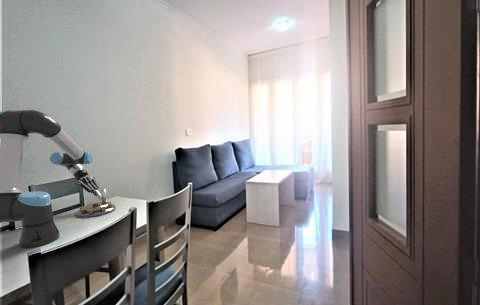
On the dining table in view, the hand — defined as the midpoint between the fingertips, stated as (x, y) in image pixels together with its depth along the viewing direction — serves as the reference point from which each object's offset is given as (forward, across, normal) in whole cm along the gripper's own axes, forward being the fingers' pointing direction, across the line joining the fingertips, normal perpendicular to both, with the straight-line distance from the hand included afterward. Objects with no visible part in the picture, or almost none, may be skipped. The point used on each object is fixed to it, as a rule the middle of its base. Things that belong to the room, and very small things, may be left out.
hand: (101, 198), depth 167 cm
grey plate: (+6, +6, -4) cm, 9 cm away
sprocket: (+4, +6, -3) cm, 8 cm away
